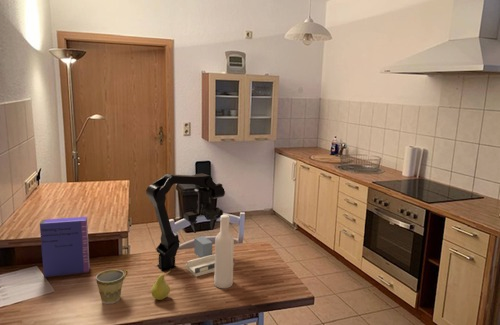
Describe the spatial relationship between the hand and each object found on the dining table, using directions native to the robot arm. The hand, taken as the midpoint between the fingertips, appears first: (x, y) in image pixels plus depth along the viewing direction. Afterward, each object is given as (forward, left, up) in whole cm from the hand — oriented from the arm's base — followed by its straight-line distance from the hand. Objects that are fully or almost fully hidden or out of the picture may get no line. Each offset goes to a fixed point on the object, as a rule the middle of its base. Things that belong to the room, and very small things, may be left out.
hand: (203, 231), depth 181 cm
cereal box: (-58, +16, -13) cm, 62 cm away
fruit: (-32, -25, -13) cm, 42 cm away
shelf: (-3, -12, -13) cm, 18 cm away
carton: (0, 0, -13) cm, 13 cm away
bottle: (-6, -28, -13) cm, 32 cm away
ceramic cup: (-47, -15, -13) cm, 51 cm away
